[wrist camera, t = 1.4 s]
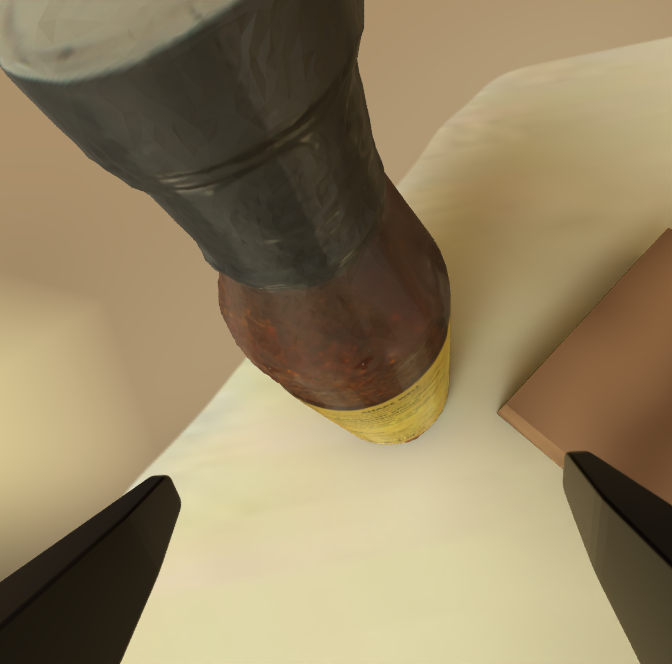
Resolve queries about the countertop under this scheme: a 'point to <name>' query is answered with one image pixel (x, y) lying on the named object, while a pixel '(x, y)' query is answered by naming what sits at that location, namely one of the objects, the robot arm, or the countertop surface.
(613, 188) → the countertop surface
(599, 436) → the base block
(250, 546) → the countertop surface
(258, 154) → the sauce bottle
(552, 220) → the countertop surface
